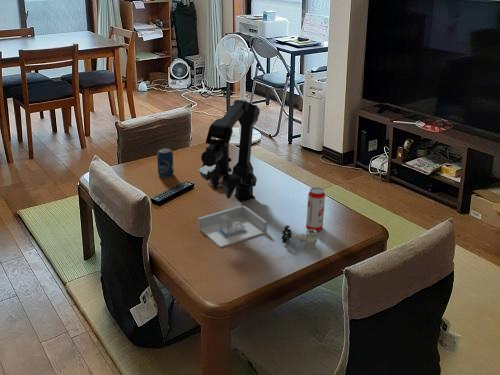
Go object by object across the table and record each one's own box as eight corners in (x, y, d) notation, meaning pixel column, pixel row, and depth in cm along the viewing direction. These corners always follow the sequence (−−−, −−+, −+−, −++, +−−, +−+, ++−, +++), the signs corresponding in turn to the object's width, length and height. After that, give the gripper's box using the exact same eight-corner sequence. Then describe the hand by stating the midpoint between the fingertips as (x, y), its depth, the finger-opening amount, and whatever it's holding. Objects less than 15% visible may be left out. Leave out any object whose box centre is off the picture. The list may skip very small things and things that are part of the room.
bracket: (226, 236, 210) (226, 221, 207) (219, 230, 213) (219, 216, 211) (245, 230, 214) (245, 216, 211) (237, 224, 217) (238, 210, 215)
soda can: (156, 177, 256) (154, 152, 251) (160, 171, 262) (159, 146, 257) (171, 178, 255) (170, 153, 250) (175, 172, 261) (174, 147, 256)
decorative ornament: (206, 186, 249) (205, 154, 242) (211, 179, 255) (210, 147, 249) (223, 188, 247) (223, 156, 240) (228, 181, 254) (228, 149, 247)
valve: (318, 244, 207) (287, 237, 211) (319, 228, 204) (287, 221, 208) (313, 253, 202) (281, 246, 206) (314, 237, 199) (281, 230, 203)
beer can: (324, 226, 219) (327, 188, 212) (320, 234, 214) (323, 195, 207) (308, 223, 221) (310, 185, 214) (304, 231, 215) (306, 192, 208)
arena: (243, 215, 226) (243, 204, 224) (266, 232, 214) (267, 221, 212) (198, 228, 216) (198, 217, 214) (220, 247, 204) (220, 236, 202)
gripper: (189, 152, 212) (190, 189, 220) (215, 170, 199) (216, 209, 206) (214, 145, 218) (215, 182, 225) (242, 162, 205) (242, 201, 212)
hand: (221, 193), depth 217 cm, fingers open, 9 cm apart
